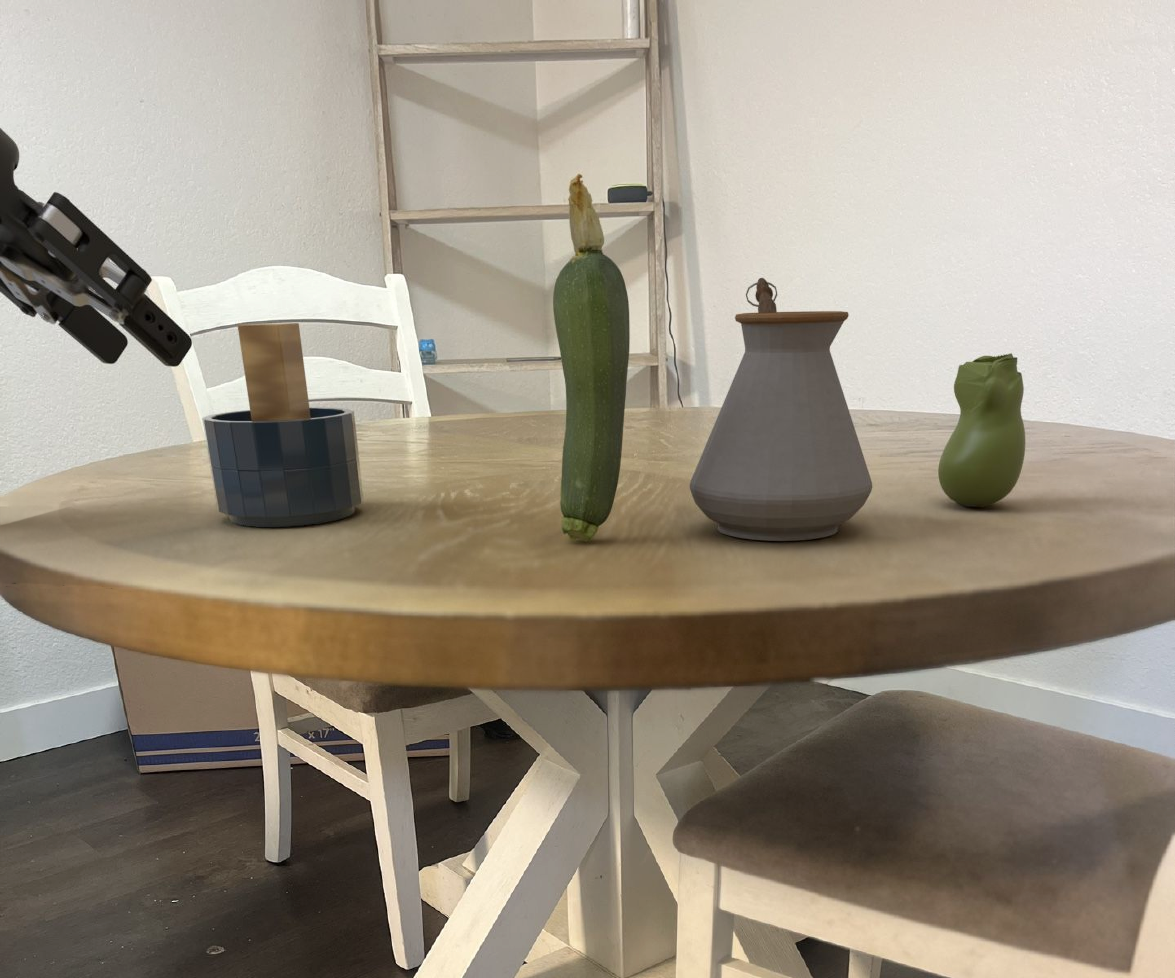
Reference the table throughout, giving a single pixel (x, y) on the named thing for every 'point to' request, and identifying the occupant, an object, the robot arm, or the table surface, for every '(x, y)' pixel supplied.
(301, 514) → the bowl
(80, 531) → the table surface
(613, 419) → the vegetable
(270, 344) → the long rectangular wooden block
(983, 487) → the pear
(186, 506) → the table surface
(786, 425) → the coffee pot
